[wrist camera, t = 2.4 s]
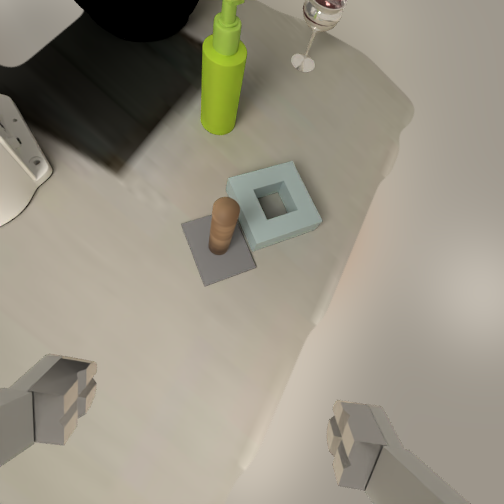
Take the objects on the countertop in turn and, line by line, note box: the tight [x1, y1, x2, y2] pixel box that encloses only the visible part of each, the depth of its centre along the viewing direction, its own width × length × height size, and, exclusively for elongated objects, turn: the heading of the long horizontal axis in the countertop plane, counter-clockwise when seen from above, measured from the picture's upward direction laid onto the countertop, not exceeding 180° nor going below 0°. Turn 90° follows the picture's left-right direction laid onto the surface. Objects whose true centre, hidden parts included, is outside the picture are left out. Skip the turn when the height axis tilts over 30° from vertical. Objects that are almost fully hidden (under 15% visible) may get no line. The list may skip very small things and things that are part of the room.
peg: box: [208, 197, 240, 255], centre depth 38 cm, size 3×3×12 cm
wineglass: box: [291, 0, 347, 72], centre depth 54 cm, size 7×7×12 cm
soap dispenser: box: [201, 0, 247, 135], centre depth 42 cm, size 6×7×20 cm
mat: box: [181, 215, 256, 286], centre depth 44 cm, size 10×8×1 cm
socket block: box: [226, 161, 322, 252], centre depth 46 cm, size 11×11×4 cm
